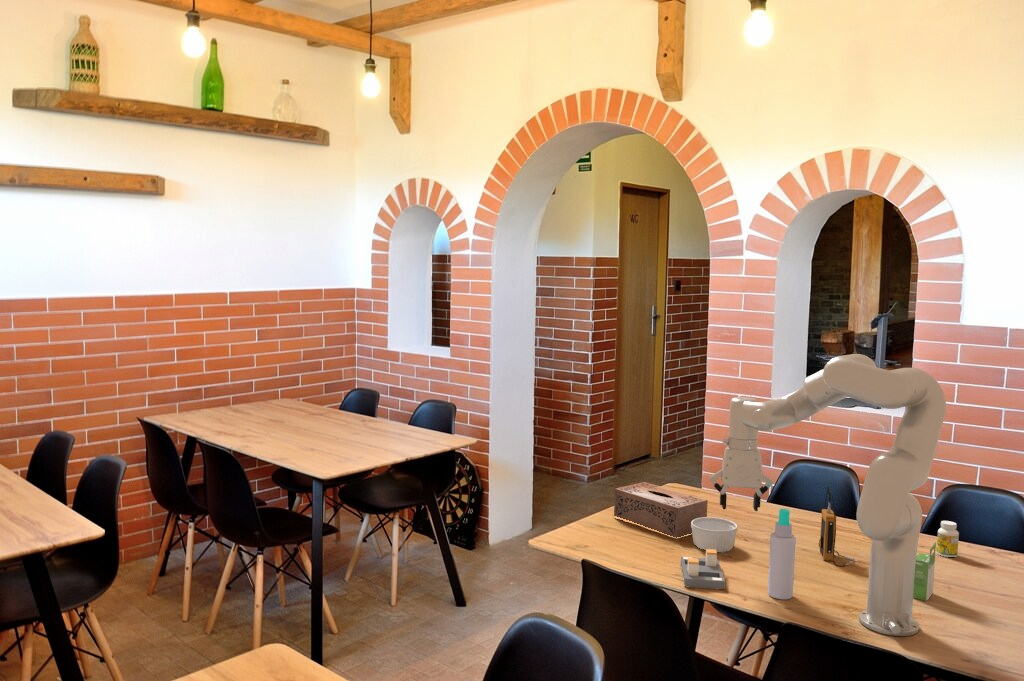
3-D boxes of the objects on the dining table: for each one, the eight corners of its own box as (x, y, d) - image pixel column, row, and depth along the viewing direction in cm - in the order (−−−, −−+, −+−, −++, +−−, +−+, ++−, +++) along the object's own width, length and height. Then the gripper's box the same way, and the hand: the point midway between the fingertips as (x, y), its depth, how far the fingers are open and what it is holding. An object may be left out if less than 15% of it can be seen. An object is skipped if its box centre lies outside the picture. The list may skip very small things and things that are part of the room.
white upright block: (698, 581, 211) (698, 562, 211) (687, 580, 212) (688, 561, 211) (697, 577, 214) (698, 558, 214) (687, 576, 215) (687, 557, 214)
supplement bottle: (961, 557, 235) (964, 524, 235) (946, 558, 234) (949, 526, 233) (946, 551, 241) (948, 519, 240) (932, 552, 239) (934, 520, 238)
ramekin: (689, 551, 236) (690, 528, 235) (690, 537, 248) (691, 515, 248) (737, 556, 233) (738, 532, 232) (735, 541, 245) (736, 519, 245)
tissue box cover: (613, 518, 266) (614, 488, 265) (643, 511, 275) (644, 481, 274) (676, 540, 246) (678, 508, 245) (706, 531, 255) (707, 500, 254)
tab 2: (716, 571, 219) (717, 553, 218) (706, 570, 219) (707, 552, 218) (715, 567, 221) (715, 549, 221) (705, 567, 222) (706, 548, 221)
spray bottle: (782, 602, 201) (787, 515, 199) (762, 594, 206) (766, 509, 204) (797, 596, 205) (802, 511, 203) (777, 588, 209) (781, 505, 207)
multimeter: (864, 569, 225) (868, 498, 223) (825, 565, 227) (829, 495, 225) (853, 551, 239) (856, 484, 237) (817, 548, 241) (820, 481, 239)
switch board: (724, 589, 208) (724, 581, 208) (684, 586, 209) (684, 578, 209) (717, 567, 224) (718, 558, 224) (680, 564, 225) (680, 556, 225)
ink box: (916, 589, 211) (919, 538, 210) (933, 593, 209) (937, 542, 207) (909, 597, 206) (913, 545, 204) (926, 601, 203) (930, 549, 202)
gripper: (710, 445, 213) (707, 511, 215) (779, 448, 211) (775, 515, 213) (707, 439, 221) (704, 502, 223) (774, 442, 218) (770, 506, 220)
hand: (739, 508), depth 218 cm, fingers open, 7 cm apart
